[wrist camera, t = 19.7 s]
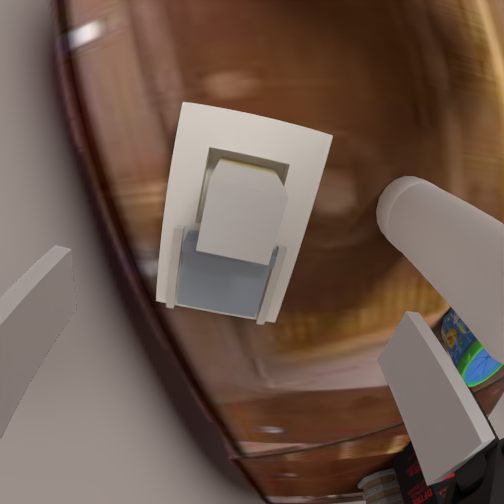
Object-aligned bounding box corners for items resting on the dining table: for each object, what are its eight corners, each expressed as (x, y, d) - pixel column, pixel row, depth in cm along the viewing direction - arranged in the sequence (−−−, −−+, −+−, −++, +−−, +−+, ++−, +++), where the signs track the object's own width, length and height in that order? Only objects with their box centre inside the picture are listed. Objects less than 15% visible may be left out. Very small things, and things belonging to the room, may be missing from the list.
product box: (483, 414, 56) (522, 496, 27) (459, 441, 62) (490, 516, 33) (414, 437, 55) (449, 542, 26) (391, 462, 61) (417, 554, 32)
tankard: (367, 473, 63) (377, 515, 49) (404, 464, 63) (416, 503, 50) (346, 494, 71) (353, 530, 58) (379, 487, 72) (388, 521, 58)
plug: (221, 156, 27) (210, 178, 18) (273, 168, 28) (288, 196, 19) (210, 206, 29) (195, 250, 20) (260, 217, 30) (268, 265, 21)
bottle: (422, 245, 32) (585, 445, 5) (367, 238, 32) (535, 496, 5) (440, 182, 29) (657, 345, 2) (383, 167, 28) (649, 372, 1)
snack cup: (427, 362, 42) (451, 407, 33) (408, 330, 38) (438, 381, 29) (496, 306, 38) (528, 342, 28) (486, 265, 34) (528, 303, 25)
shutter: (188, 229, 27) (183, 240, 25) (273, 246, 28) (276, 258, 26) (179, 300, 31) (174, 315, 28) (254, 313, 32) (255, 329, 29)
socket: (189, 103, 25) (181, 101, 22) (324, 133, 27) (335, 136, 23) (161, 286, 34) (154, 304, 30) (272, 306, 35) (275, 326, 32)
